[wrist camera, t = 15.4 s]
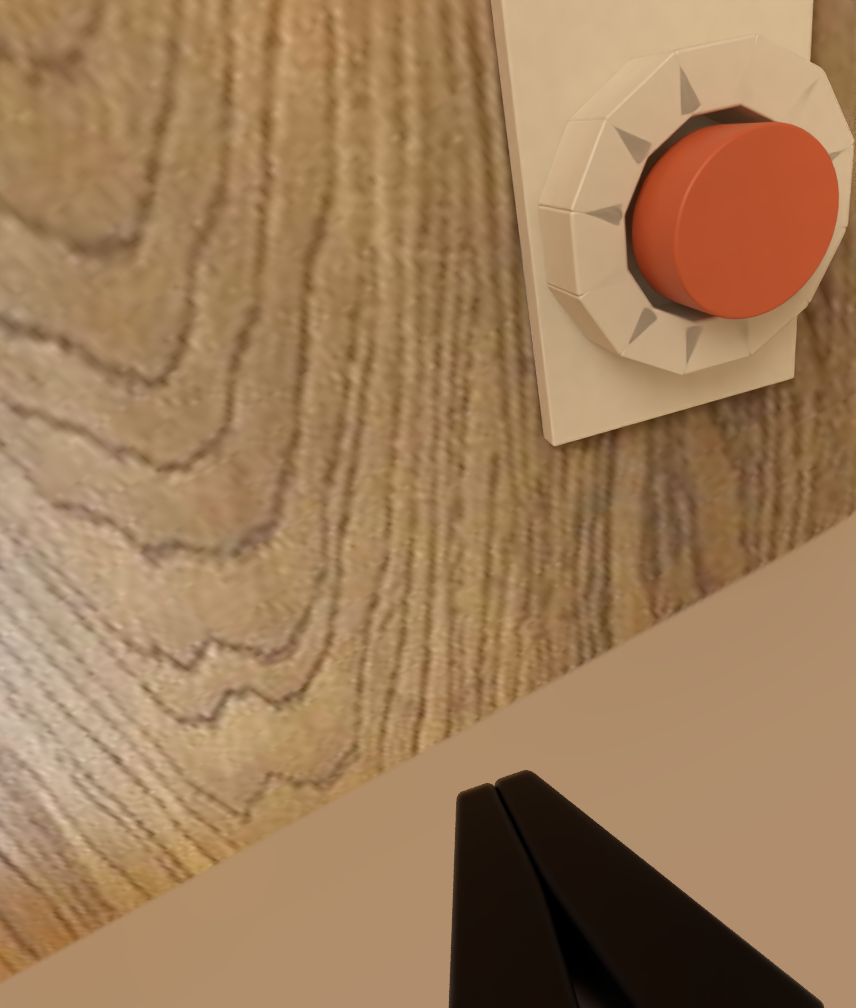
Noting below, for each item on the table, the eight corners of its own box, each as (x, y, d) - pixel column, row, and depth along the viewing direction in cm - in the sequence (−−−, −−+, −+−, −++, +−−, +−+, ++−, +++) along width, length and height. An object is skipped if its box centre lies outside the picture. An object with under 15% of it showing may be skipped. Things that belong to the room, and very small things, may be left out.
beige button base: (777, 372, 21) (844, 398, 18) (543, 438, 20) (583, 475, 17) (796, -72, 16) (888, -106, 14) (488, -12, 15) (534, -39, 13)
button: (778, 283, 17) (834, 296, 15) (634, 321, 16) (677, 339, 15) (785, 108, 15) (848, 103, 14) (625, 144, 15) (672, 144, 13)
